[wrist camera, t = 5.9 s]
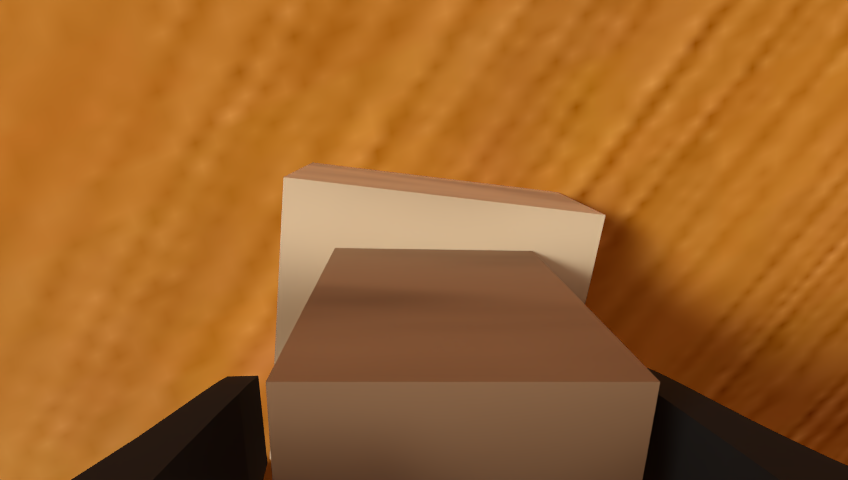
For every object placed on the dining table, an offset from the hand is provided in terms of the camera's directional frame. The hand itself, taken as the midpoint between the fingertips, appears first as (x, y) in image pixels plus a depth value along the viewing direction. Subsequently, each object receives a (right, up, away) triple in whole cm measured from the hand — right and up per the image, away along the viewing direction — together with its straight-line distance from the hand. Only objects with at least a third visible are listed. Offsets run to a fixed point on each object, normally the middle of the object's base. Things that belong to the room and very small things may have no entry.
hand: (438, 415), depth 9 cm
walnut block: (0, +1, +3) cm, 3 cm away
